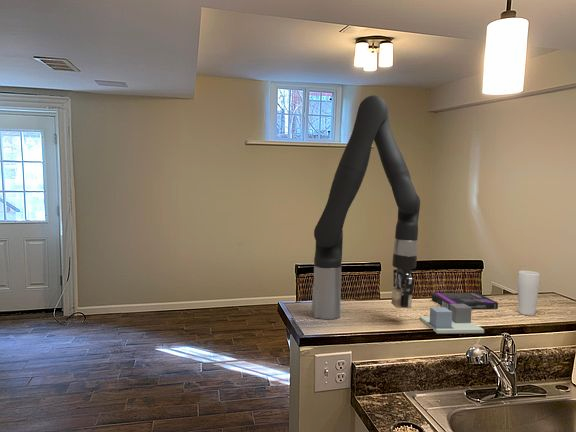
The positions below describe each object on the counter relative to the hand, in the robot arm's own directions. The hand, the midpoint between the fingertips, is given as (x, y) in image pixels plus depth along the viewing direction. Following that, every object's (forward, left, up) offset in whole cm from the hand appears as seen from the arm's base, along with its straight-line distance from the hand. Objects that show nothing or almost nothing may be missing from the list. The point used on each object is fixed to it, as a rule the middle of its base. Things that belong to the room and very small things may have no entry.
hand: (401, 304), depth 146 cm
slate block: (+11, -6, -5) cm, 13 cm away
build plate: (+15, -4, -6) cm, 17 cm away
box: (+32, +21, -7) cm, 38 cm away
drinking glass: (+49, +8, -6) cm, 50 cm away
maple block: (0, 0, -1) cm, 1 cm away
